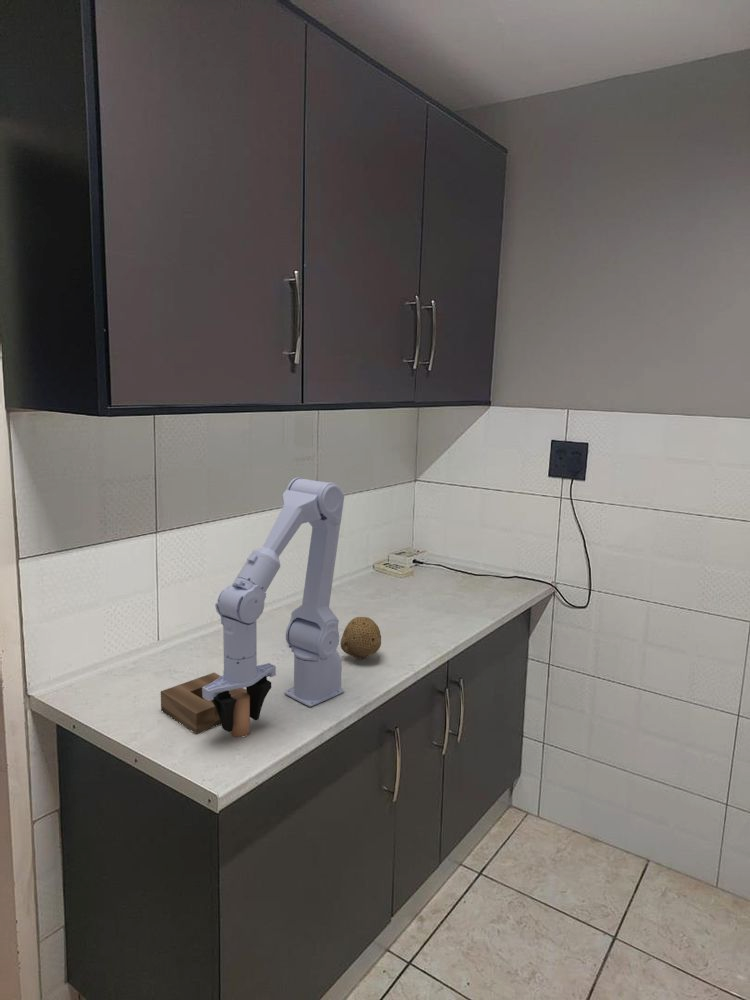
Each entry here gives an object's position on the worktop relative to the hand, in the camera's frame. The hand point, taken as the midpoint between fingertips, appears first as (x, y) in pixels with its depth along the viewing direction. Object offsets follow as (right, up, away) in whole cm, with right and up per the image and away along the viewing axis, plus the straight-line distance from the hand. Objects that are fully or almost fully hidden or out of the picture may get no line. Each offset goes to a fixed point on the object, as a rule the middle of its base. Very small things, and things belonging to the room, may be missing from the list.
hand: (240, 723), depth 123 cm
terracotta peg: (0, -2, 0) cm, 2 cm away
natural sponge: (+21, +4, +33) cm, 40 cm away
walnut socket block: (-8, 0, +8) cm, 11 cm away
